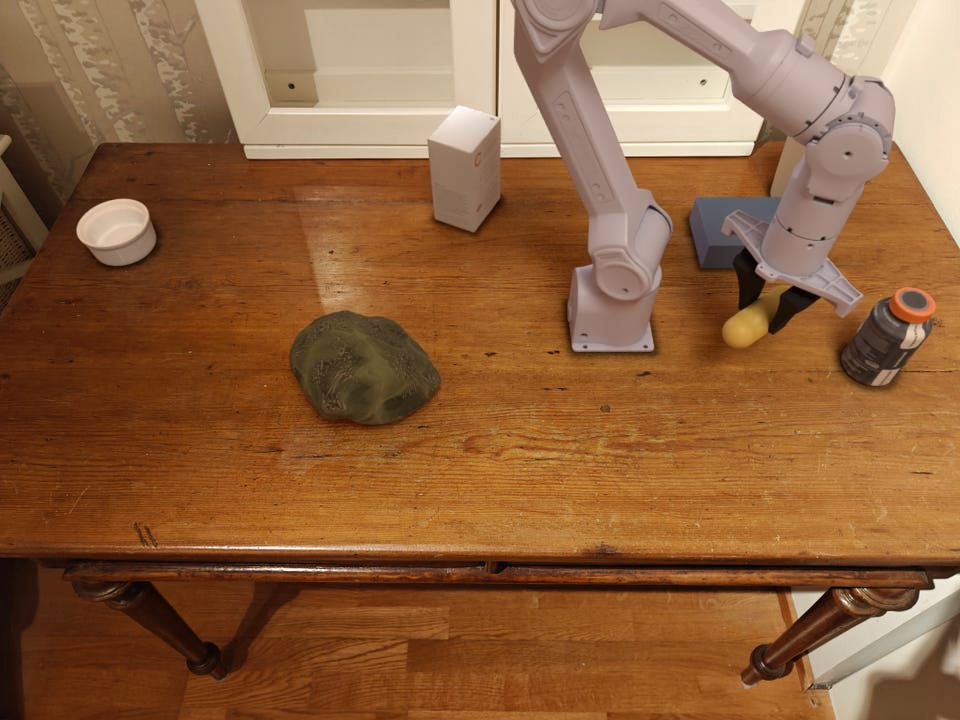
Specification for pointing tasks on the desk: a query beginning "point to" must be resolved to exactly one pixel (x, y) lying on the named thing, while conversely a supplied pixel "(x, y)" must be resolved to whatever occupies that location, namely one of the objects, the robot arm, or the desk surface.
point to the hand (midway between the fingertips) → (760, 316)
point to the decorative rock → (362, 368)
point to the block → (709, 222)
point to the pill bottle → (889, 336)
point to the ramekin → (117, 232)
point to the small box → (465, 167)
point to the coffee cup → (786, 166)
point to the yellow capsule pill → (752, 320)
